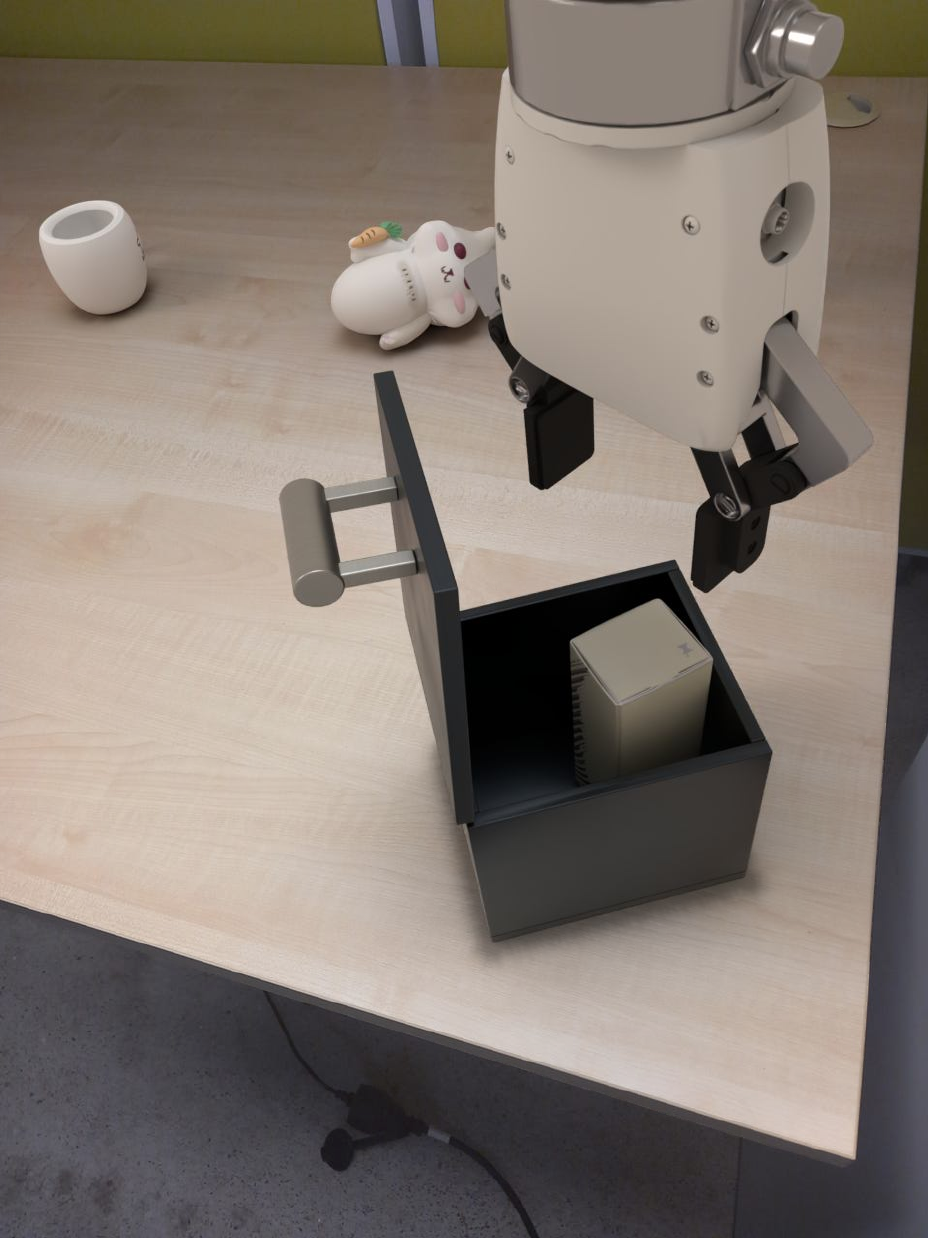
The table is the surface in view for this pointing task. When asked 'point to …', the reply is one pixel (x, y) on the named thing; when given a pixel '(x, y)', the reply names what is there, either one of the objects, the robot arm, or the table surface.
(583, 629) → the bin
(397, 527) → the bin lid
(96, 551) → the table surface
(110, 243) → the mug
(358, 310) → the cat figurine
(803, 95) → the robot arm
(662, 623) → the box
